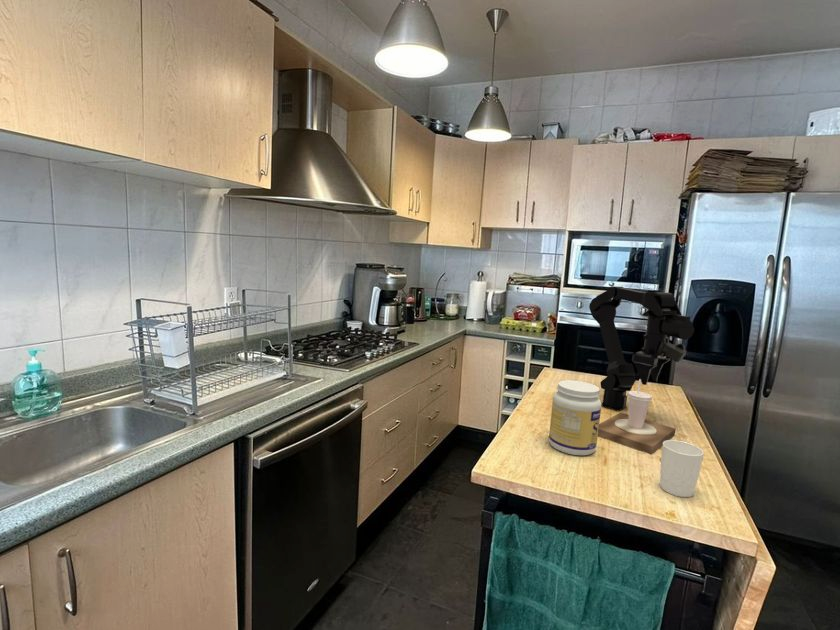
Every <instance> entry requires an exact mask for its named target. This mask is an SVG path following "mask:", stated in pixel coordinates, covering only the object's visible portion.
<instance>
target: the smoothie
mask: <svg viewBox="0 0 840 630" xmlns="http://www.w3.org/2000/svg"><path fill="white" fill-rule="evenodd" d="M641 384H642V382H641V379H640V378H639V379H638V386H637V390H630V391H627V402H628V405H627V407H628V408H627V409H628V413H627V414H628V425H629V426H630V427H632V428H637V429H641V428H642V427H643V424H644V421H645V420H646V416H647V413H648V410H649V407H650V403H651V401H652V400H653V396H652V394H649V393H648V392H645V391H644V392H643V391H640V390H641V386H642V385H641Z"/></svg>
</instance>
